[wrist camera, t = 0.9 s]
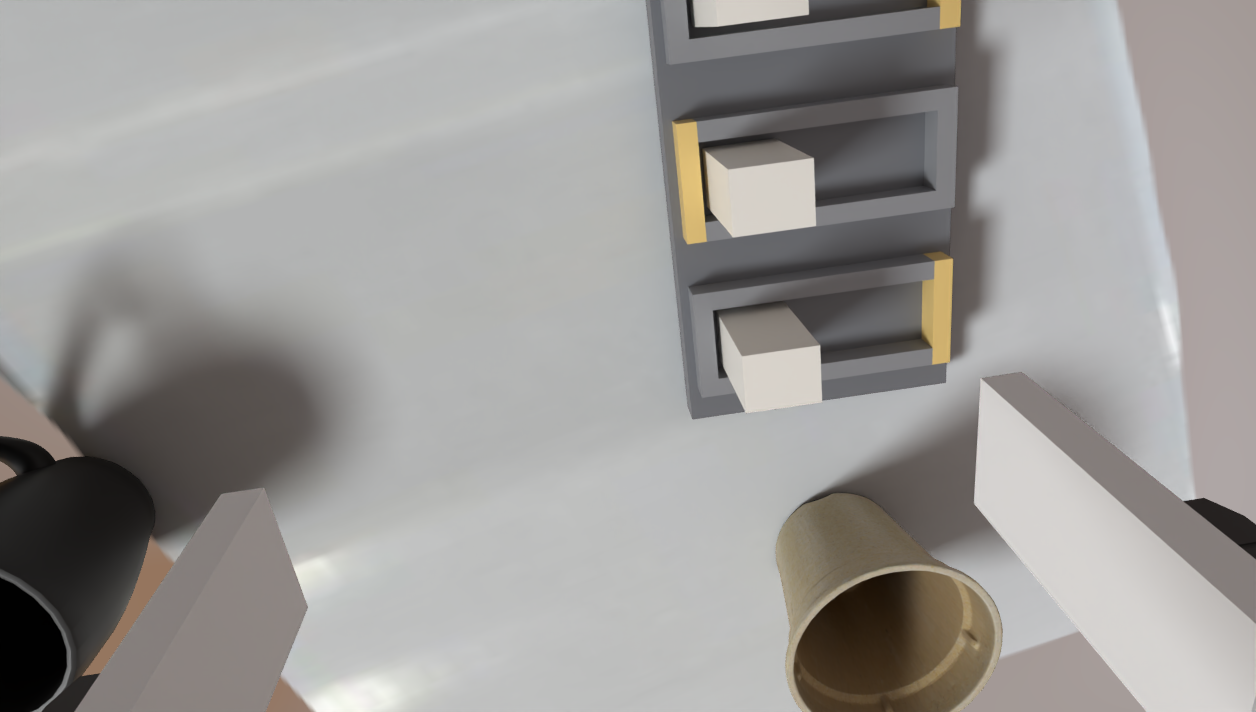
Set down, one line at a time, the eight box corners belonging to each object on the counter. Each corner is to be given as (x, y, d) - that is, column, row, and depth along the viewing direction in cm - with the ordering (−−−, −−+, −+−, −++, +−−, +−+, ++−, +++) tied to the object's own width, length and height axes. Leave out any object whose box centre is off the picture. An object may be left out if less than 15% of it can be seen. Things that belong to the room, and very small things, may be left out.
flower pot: (749, 464, 41) (796, 571, 33) (932, 457, 42) (1021, 560, 34) (739, 617, 44) (779, 747, 36) (908, 608, 45) (984, 734, 37)
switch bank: (633, -115, 31) (640, -128, 29) (943, -154, 31) (977, -170, 29) (687, 405, 39) (696, 431, 37) (932, 370, 40) (957, 393, 37)
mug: (75, 332, 36) (-83, 431, 27) (218, 546, 40) (122, 692, 31) (-93, 394, 36) (-303, 512, 27) (66, 600, 41) (-70, 758, 32)
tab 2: (702, 148, 33) (728, 169, 28) (774, 138, 33) (813, 158, 28) (707, 206, 34) (733, 237, 29) (777, 196, 34) (816, 226, 29)
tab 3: (715, 309, 36) (741, 356, 31) (783, 300, 36) (820, 345, 31) (720, 360, 37) (746, 413, 32) (785, 350, 37) (822, 402, 32)
